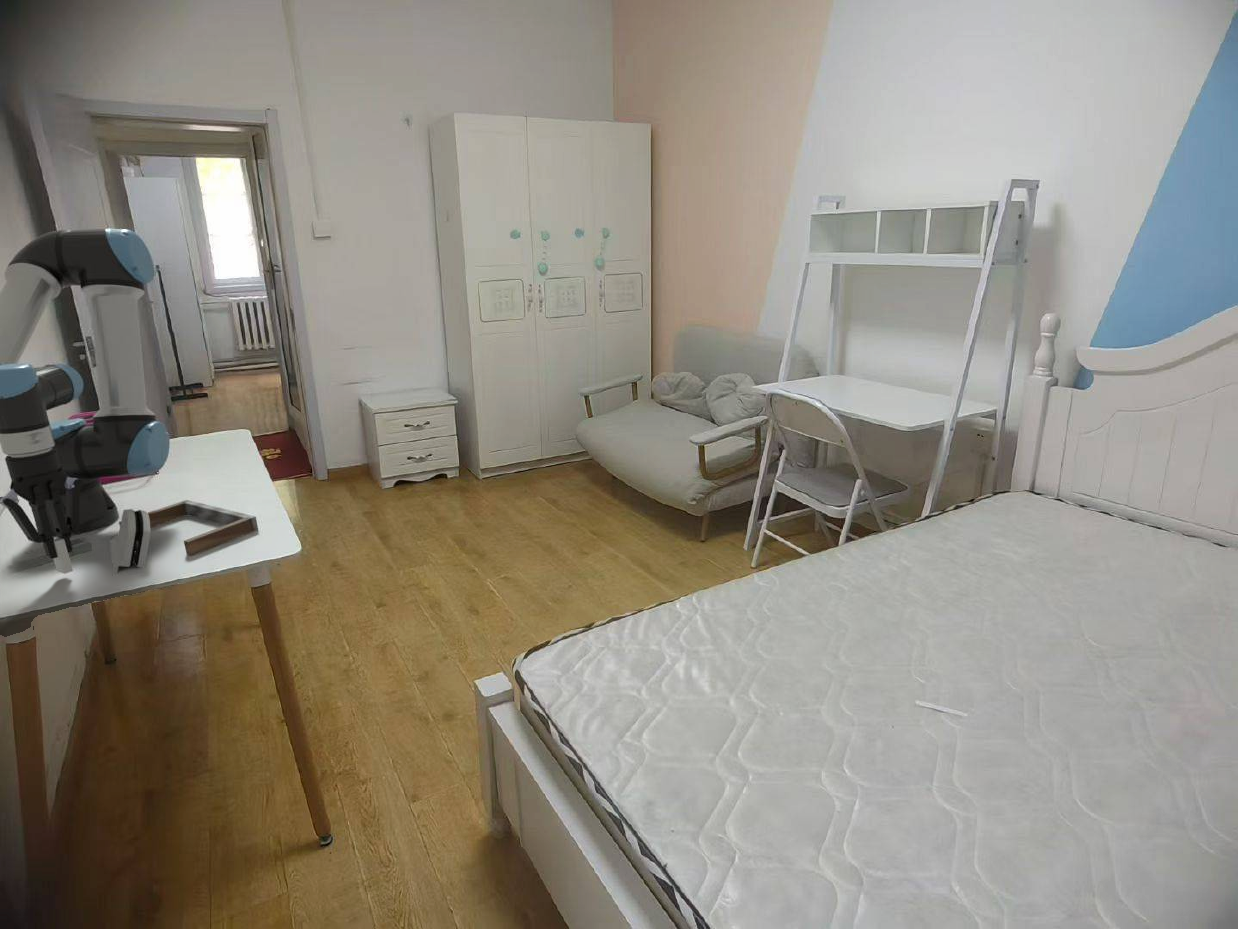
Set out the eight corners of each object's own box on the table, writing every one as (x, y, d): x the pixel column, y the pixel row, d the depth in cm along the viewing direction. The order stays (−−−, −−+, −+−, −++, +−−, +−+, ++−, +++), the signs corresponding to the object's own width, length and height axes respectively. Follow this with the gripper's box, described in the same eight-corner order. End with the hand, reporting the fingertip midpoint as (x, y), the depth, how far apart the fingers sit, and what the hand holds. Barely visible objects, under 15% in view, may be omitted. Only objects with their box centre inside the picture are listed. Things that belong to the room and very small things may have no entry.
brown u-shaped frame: (122, 535, 159) (118, 522, 158) (189, 511, 171) (186, 499, 170) (191, 555, 147) (188, 542, 146) (258, 529, 159) (255, 516, 158)
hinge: (109, 546, 153) (118, 500, 152) (136, 547, 156) (145, 502, 155) (114, 573, 140) (123, 523, 139) (143, 574, 143) (152, 525, 142)
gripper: (-3, 464, 124) (35, 589, 132) (81, 444, 135) (112, 561, 142) (-23, 458, 128) (15, 581, 135) (60, 440, 139) (91, 554, 146)
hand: (65, 570), depth 139 cm, fingers closed
